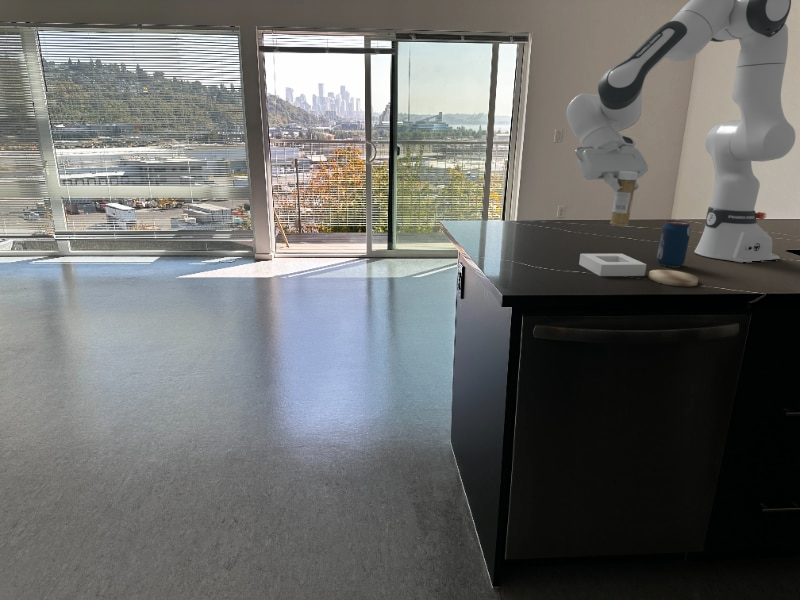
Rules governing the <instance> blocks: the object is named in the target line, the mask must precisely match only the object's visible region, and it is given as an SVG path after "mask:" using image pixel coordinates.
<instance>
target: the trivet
mask: <svg viewBox="0 0 800 600" xmlns="http://www.w3.org/2000/svg"><path fill="white" fill-rule="evenodd" d="M647 278H648V279H649V280H650V279H651V280H650V281H652V280H653V282H655V283H657V284H661V283H662V284H661V285H666V286H673V287H674V286H675V287H695V286H697V285H698V283H699V277H697V276H696V275H694V274H691V273H689V272H685V271H679V270H672V269H652V270H650V271H649V272H648V276H647Z"/></svg>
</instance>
